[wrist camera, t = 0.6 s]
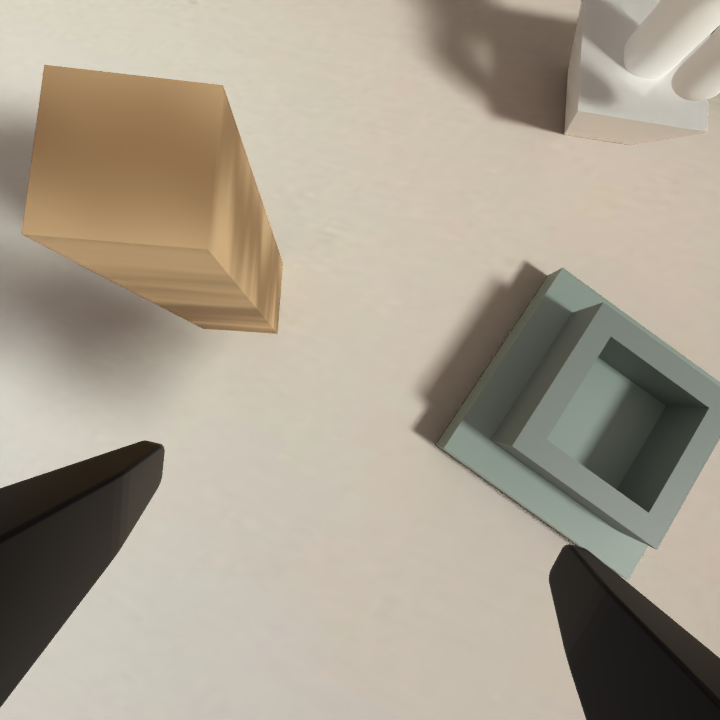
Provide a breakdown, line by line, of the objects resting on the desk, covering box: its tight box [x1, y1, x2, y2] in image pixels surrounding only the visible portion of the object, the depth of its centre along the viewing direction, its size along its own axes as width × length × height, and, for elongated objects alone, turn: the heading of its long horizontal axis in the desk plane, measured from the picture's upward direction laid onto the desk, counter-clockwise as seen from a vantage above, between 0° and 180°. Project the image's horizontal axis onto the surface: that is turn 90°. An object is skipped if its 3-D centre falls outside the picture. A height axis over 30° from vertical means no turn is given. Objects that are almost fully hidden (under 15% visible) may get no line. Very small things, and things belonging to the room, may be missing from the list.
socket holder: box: [436, 268, 720, 580], centre depth 21 cm, size 12×12×4 cm
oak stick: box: [22, 65, 283, 334], centre depth 16 cm, size 4×4×13 cm
